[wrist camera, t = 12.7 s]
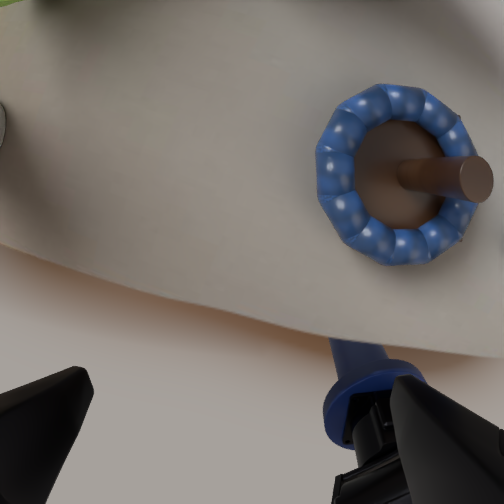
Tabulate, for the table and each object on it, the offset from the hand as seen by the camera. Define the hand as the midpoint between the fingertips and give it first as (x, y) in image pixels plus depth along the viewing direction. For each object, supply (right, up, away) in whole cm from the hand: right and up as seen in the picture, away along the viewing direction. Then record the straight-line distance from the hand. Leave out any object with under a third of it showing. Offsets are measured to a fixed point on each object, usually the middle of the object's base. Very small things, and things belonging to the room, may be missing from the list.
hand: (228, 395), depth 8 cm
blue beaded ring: (+9, +8, +7) cm, 14 cm away
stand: (+10, +9, +9) cm, 16 cm away
